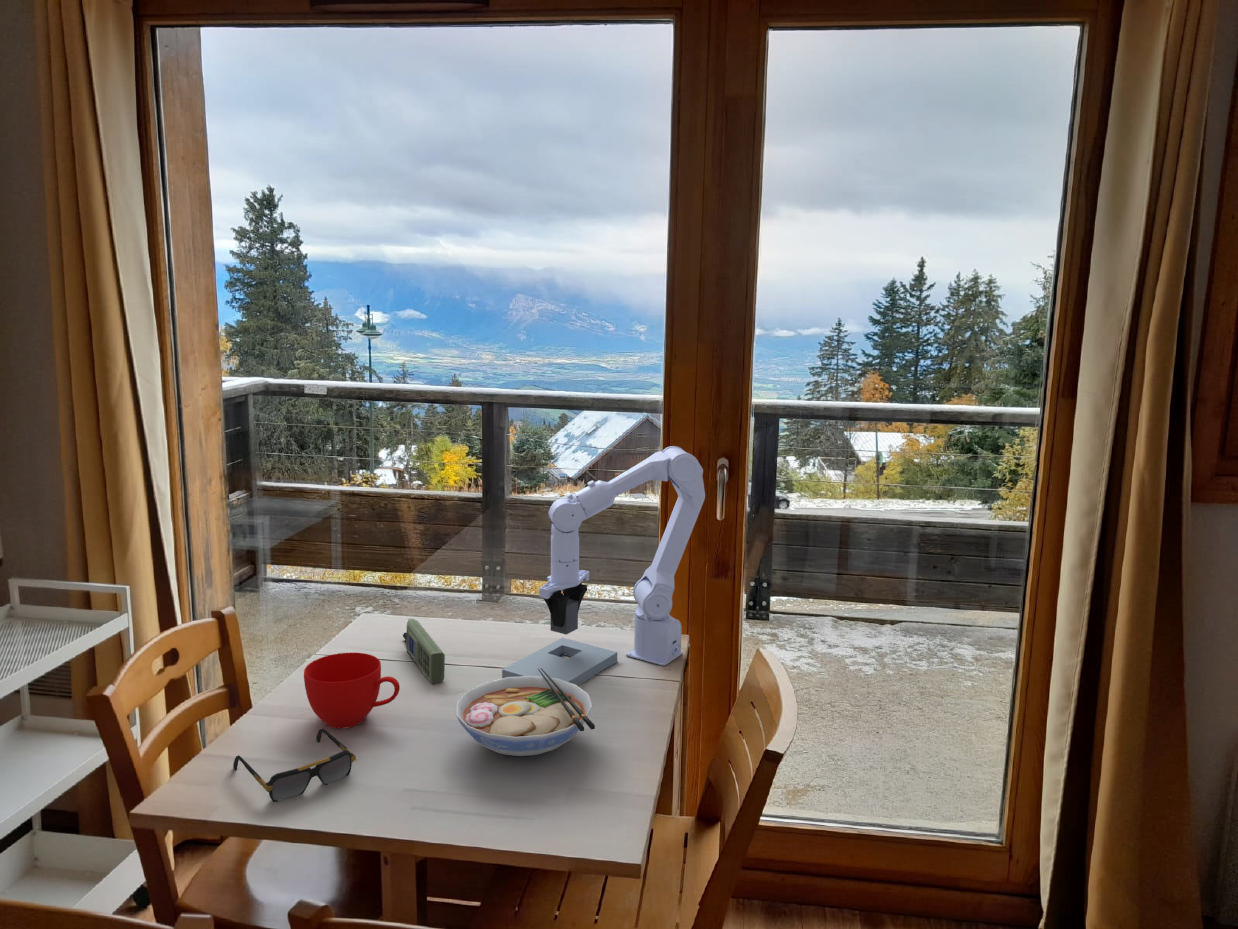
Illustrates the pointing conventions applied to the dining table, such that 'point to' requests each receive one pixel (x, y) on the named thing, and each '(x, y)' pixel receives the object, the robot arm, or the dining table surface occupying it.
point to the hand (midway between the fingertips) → (564, 622)
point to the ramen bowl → (524, 714)
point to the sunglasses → (305, 772)
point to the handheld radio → (425, 652)
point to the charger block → (568, 618)
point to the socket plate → (563, 662)
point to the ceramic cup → (345, 687)
